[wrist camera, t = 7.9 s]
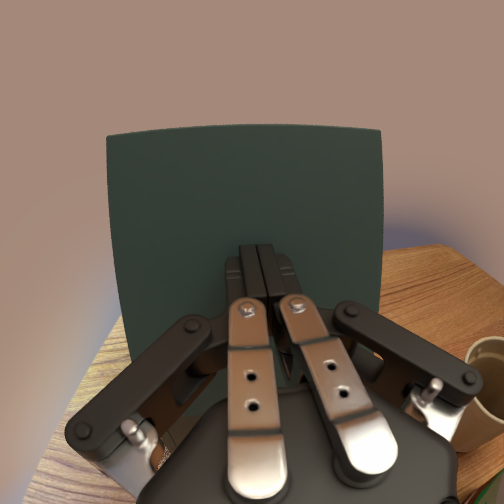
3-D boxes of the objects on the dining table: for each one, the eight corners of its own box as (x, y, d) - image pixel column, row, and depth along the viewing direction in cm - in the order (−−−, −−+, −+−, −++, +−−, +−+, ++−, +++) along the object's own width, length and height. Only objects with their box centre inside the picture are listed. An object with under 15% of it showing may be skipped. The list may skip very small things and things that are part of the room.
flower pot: (450, 486, 17) (508, 447, 13) (405, 413, 25) (444, 359, 20) (508, 436, 20) (557, 389, 15) (465, 378, 27) (502, 323, 22)
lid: (110, 138, 14) (106, 135, 13) (374, 131, 15) (381, 129, 15) (147, 409, 17) (145, 417, 16) (362, 387, 18) (367, 394, 18)
